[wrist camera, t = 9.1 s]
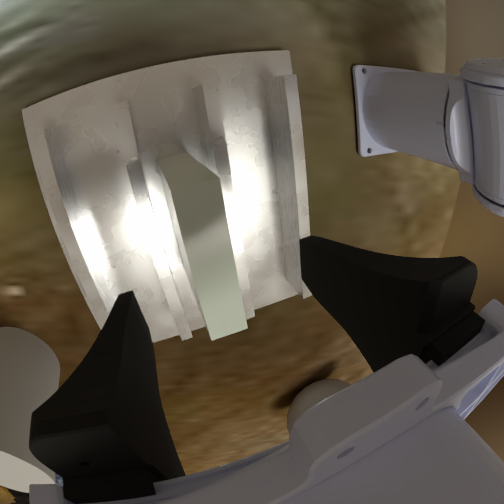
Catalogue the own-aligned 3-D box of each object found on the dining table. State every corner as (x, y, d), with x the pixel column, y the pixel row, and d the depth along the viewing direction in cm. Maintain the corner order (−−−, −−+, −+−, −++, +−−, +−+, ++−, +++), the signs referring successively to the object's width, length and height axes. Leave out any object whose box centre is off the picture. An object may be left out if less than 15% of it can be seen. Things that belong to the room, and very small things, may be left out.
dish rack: (282, 52, 18) (312, 43, 15) (303, 284, 28) (326, 308, 25) (26, 109, 14) (3, 110, 11) (114, 345, 24) (115, 379, 20)
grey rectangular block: (187, 152, 18) (219, 177, 12) (210, 260, 22) (247, 328, 16) (156, 160, 18) (170, 190, 11) (184, 267, 22) (211, 340, 15)
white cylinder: (7, 389, 21) (-6, 487, 11) (-27, 329, 18) (-65, 435, 8) (71, 387, 24) (73, 496, 14) (42, 323, 20) (19, 447, 10)
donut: (332, 359, 36) (378, 415, 27) (340, 369, 38) (383, 421, 29) (269, 406, 36) (304, 467, 27) (281, 413, 37) (314, 469, 29)
